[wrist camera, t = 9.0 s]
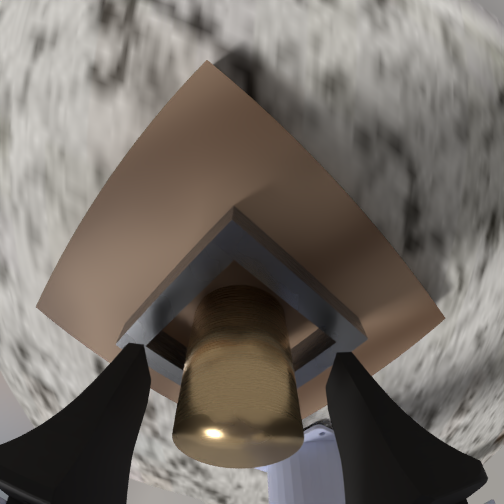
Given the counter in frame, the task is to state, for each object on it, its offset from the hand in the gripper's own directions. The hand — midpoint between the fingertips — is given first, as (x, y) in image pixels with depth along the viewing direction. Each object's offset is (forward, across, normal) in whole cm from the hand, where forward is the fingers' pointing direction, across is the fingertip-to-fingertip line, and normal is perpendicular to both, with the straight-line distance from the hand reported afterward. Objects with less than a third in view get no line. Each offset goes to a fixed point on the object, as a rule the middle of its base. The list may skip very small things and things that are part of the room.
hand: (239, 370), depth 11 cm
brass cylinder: (+3, 0, 0) cm, 3 cm away
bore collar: (+3, 0, 0) cm, 3 cm away
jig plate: (+4, 0, 0) cm, 4 cm away
